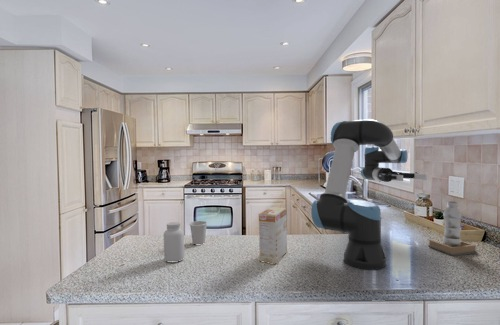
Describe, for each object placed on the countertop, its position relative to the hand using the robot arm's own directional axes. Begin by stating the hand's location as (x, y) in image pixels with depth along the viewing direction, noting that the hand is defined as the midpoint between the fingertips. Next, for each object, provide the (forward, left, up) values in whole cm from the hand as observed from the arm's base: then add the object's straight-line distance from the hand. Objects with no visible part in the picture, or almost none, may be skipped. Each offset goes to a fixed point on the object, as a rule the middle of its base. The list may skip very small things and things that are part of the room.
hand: (414, 177), depth 133 cm
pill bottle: (-112, +7, -30) cm, 116 cm away
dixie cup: (-101, +25, -30) cm, 108 cm away
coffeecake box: (-72, -2, -30) cm, 78 cm away
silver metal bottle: (+4, -16, -30) cm, 34 cm away
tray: (+4, -16, -30) cm, 34 cm away
